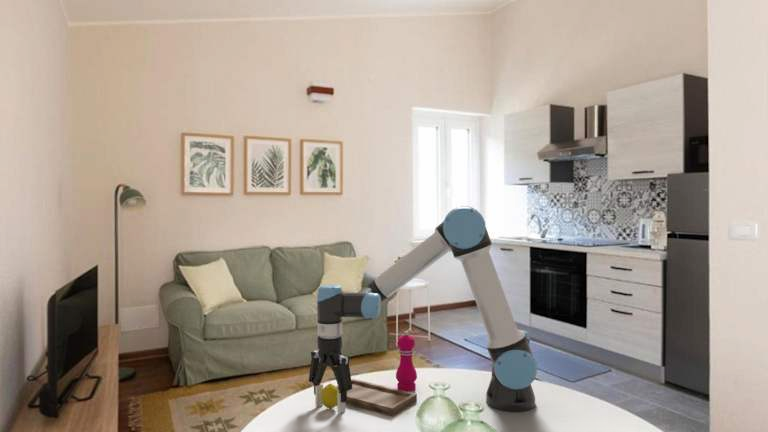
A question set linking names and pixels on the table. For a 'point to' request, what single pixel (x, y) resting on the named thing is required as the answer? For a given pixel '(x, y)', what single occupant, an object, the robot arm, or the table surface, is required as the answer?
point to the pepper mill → (406, 364)
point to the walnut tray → (379, 398)
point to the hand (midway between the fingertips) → (330, 408)
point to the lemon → (329, 396)
